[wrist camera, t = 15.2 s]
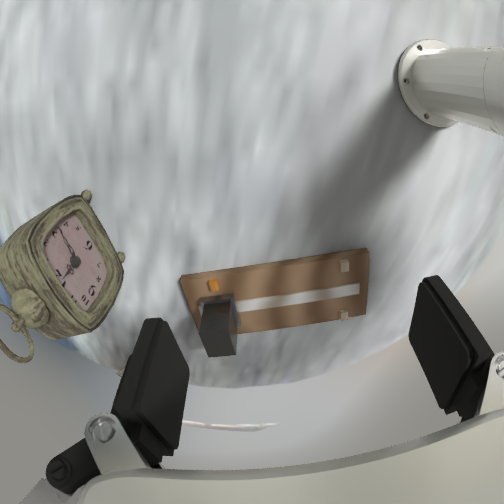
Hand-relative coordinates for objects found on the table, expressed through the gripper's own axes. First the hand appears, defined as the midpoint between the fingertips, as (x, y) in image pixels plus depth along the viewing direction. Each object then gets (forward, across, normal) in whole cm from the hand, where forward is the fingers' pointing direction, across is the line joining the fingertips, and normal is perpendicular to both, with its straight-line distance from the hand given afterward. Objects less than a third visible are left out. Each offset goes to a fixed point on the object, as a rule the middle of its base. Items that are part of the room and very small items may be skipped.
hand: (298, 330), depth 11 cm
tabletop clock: (+31, +27, +6) cm, 41 cm away
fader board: (+30, +1, +22) cm, 37 cm away
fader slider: (+28, +10, +22) cm, 37 cm away
